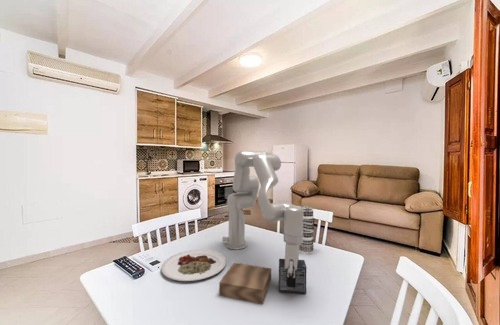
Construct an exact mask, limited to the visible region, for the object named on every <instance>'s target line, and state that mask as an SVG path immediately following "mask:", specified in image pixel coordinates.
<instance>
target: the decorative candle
mask: <svg viewBox="0 0 500 325" xmlns="http://www.w3.org/2000/svg"><path fill="white" fill-rule="evenodd" d="M300 207H301V208H302V209H303V243H302V244H299V253H301V254H305V255H311V254H313V253H314V231H315V230H314V229H315V227H314V226H315V224H314V223H315V220H316V219H315V218H314V209H313V208H312V207H311V206H308V205H303V206H300Z"/></svg>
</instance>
